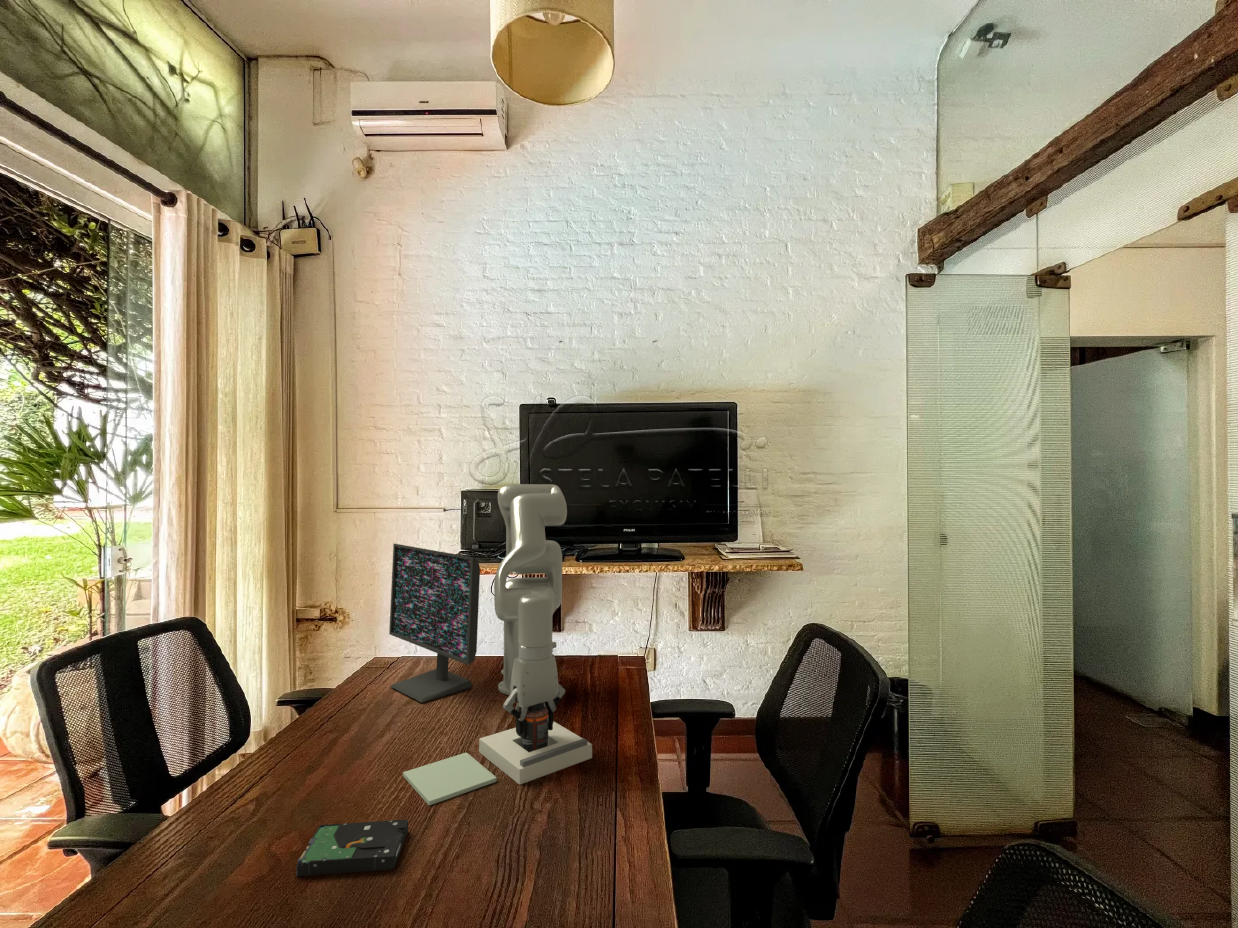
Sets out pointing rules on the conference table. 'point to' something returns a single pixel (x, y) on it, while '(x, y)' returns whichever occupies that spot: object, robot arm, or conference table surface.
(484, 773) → the sage mat
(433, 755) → the conference table surface
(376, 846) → the disk drive
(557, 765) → the dispenser block
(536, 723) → the supplement bottle
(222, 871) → the conference table surface
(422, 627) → the computer monitor
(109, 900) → the conference table surface
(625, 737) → the conference table surface
